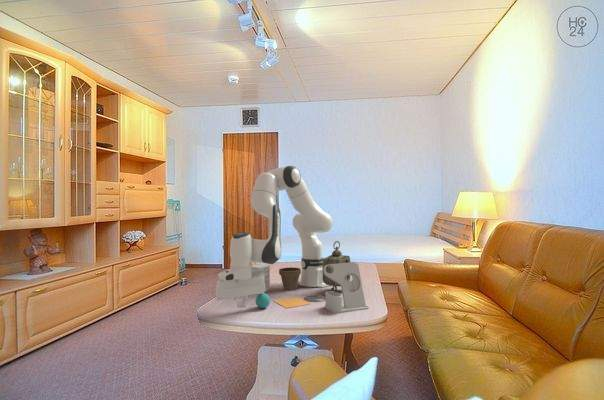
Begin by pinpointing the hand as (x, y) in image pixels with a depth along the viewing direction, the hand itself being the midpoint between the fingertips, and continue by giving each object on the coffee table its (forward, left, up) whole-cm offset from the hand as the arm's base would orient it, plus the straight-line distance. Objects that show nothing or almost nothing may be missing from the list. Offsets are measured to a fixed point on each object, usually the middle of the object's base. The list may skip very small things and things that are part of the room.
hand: (241, 307), depth 134 cm
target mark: (-24, 0, -2) cm, 24 cm away
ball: (-10, 0, +1) cm, 10 cm away
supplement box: (-20, -26, -2) cm, 33 cm away
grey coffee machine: (-40, +18, -2) cm, 44 cm away
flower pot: (-35, -22, -2) cm, 41 cm away
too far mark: (-36, 0, -2) cm, 36 cm away
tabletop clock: (-52, -5, -2) cm, 52 cm away
